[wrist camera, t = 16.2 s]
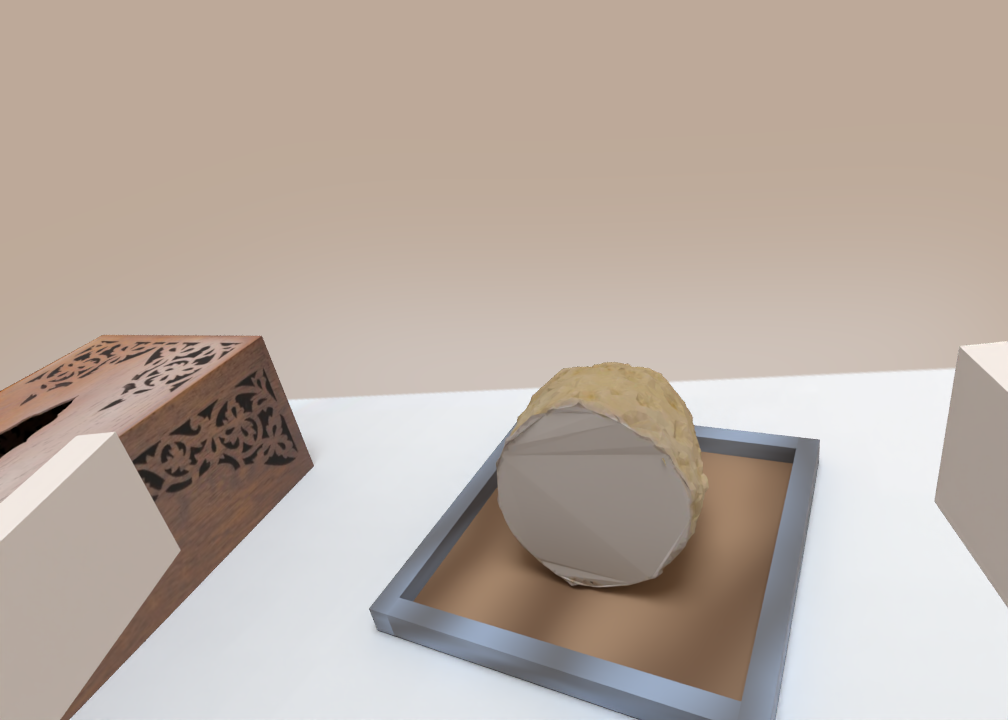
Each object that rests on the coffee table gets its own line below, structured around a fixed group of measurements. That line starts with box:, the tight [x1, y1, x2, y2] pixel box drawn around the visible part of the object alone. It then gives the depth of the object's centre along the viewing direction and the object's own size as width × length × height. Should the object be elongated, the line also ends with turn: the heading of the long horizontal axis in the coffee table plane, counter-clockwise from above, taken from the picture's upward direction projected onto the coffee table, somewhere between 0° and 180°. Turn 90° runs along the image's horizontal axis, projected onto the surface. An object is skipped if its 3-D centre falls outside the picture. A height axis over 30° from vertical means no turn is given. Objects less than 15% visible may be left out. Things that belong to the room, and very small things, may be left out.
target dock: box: [369, 422, 820, 720], centre depth 33 cm, size 17×17×1 cm
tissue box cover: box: [0, 335, 314, 720], centre depth 35 cm, size 26×14×10 cm, turn 158°
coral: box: [496, 362, 709, 587], centre depth 30 cm, size 10×10×10 cm
